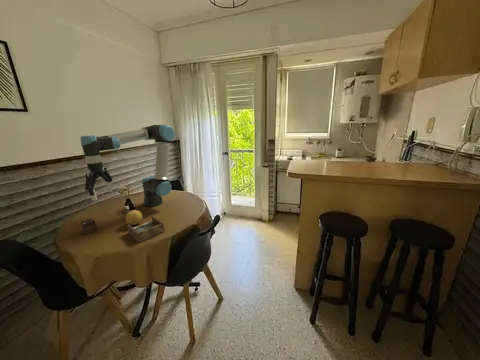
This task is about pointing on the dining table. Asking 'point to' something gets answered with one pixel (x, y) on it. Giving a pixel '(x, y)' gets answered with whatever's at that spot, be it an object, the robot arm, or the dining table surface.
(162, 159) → the robot arm
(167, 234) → the dining table surface
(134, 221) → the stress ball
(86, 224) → the box
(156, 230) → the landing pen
